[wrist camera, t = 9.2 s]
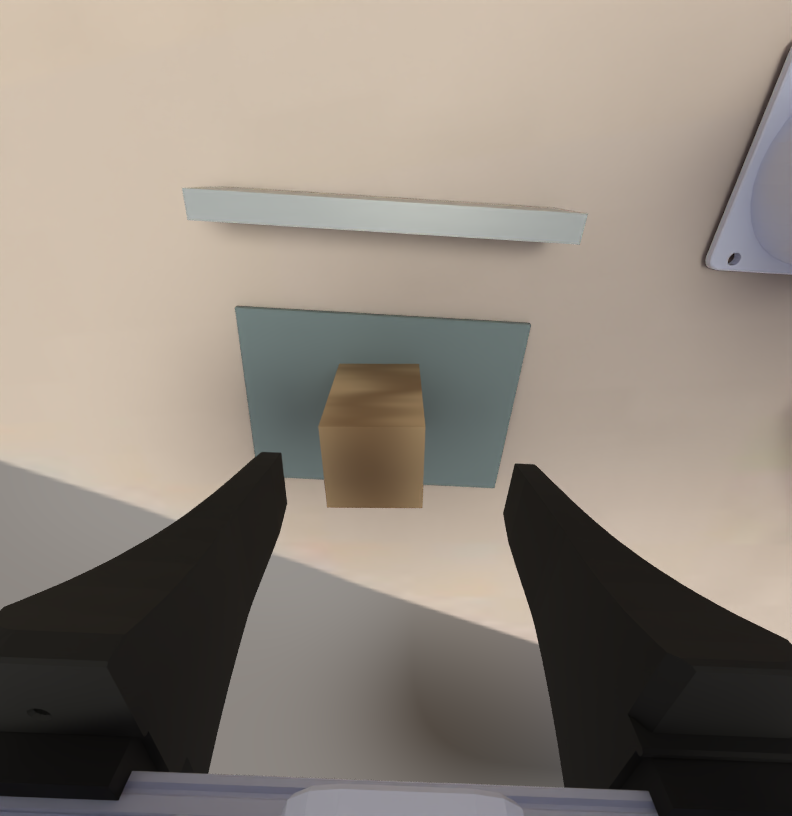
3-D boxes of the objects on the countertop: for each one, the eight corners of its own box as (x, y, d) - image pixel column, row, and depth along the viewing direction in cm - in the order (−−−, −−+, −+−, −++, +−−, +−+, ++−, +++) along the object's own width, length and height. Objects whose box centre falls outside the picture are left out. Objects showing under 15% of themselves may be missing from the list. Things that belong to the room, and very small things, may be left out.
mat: (529, 323, 20) (530, 324, 19) (493, 484, 25) (494, 488, 24) (237, 305, 19) (235, 307, 19) (259, 472, 24) (257, 476, 24)
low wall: (554, 208, 17) (587, 214, 14) (549, 233, 18) (579, 244, 15) (221, 186, 17) (182, 187, 14) (224, 212, 18) (187, 219, 14)
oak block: (419, 363, 20) (425, 427, 15) (417, 431, 22) (422, 507, 17) (339, 363, 21) (318, 426, 15) (344, 431, 22) (327, 507, 17)
